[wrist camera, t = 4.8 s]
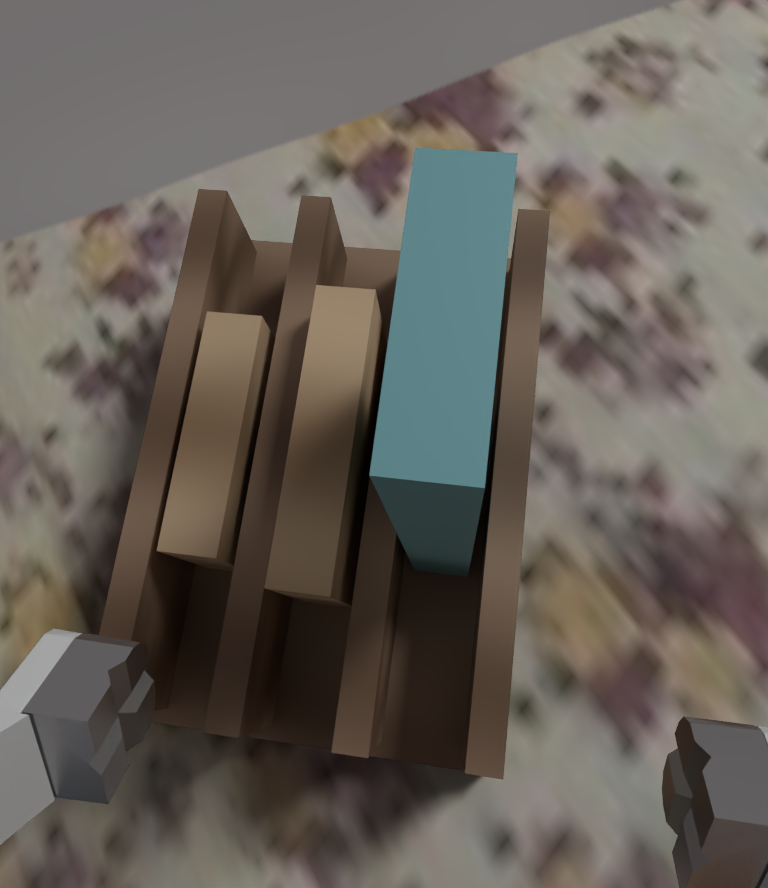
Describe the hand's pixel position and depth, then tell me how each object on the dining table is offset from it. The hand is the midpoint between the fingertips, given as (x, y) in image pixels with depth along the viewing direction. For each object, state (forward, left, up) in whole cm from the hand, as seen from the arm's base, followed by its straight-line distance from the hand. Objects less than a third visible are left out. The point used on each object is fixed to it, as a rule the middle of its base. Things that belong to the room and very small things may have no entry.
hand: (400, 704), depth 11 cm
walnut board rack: (-1, -7, -15) cm, 16 cm away
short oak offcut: (-1, -7, -13) cm, 15 cm away
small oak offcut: (+2, -9, -13) cm, 16 cm away
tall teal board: (-4, -5, -13) cm, 15 cm away
